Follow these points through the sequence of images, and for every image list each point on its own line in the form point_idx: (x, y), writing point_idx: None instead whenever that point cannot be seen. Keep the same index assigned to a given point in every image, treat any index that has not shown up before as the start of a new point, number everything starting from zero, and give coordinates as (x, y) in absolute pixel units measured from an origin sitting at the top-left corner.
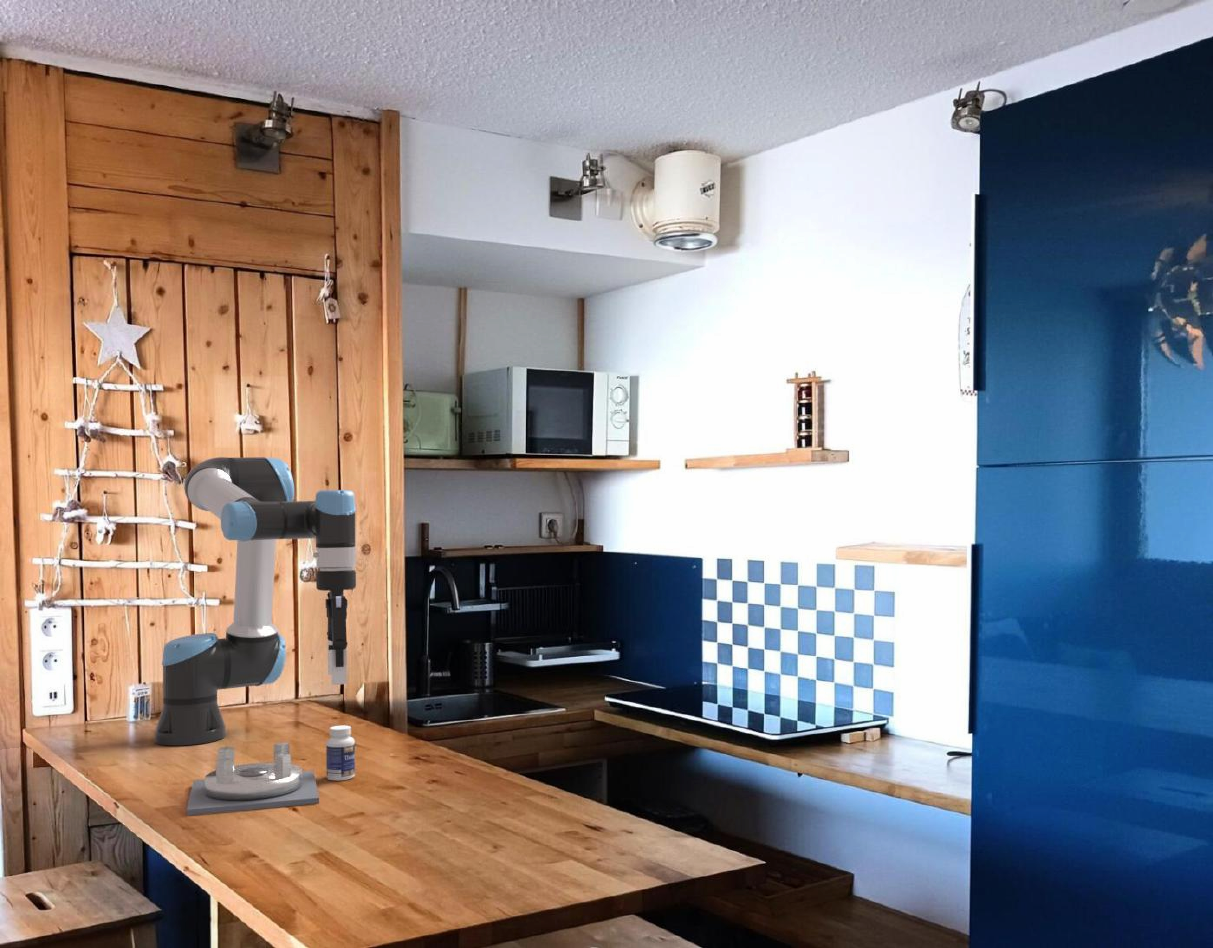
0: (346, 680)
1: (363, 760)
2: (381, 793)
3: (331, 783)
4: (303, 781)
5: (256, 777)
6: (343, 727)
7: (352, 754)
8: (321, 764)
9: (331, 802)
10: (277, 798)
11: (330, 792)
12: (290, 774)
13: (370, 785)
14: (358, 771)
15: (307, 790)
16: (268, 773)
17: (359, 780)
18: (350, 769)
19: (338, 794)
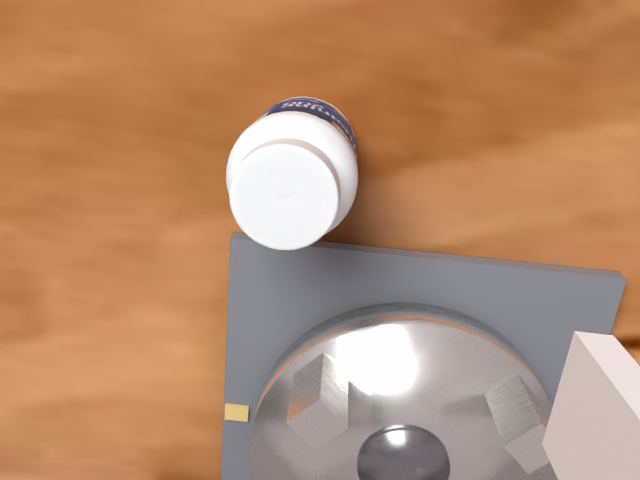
0: (629, 356)
1: (44, 9)
2: (617, 48)
3: (371, 192)
4: (376, 290)
5: (462, 462)
6: (291, 184)
7: (338, 123)
8: (64, 178)
9: (628, 234)
10: (556, 388)
11: (495, 216)
12: (521, 379)
13: (474, 64)
14: (229, 66)
15: (508, 297)
16: (426, 426)
17: (376, 89)
18: (348, 125)
19: (538, 196)
